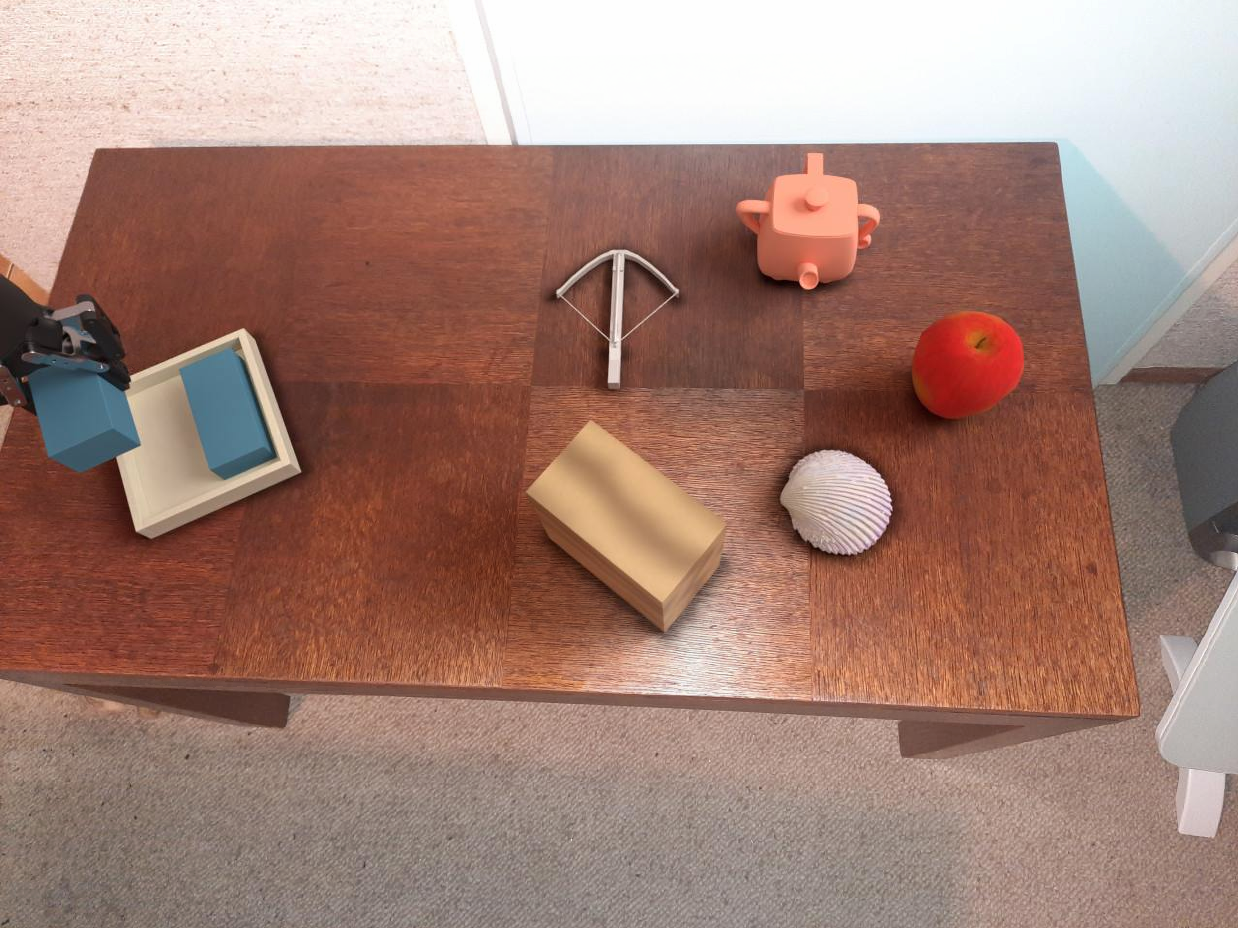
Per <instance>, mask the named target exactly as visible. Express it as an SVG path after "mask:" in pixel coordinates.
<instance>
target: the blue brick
mask: <svg viewBox="0 0 1238 928" xmlns="http://www.w3.org/2000/svg"><path fill="white" fill-rule="evenodd" d="M179 371H180V375H181V378H182V381H183V384H184V388H185V391H186V394H187V397H188V401H189V404H190V407H191V410H192V414H193V417H194V420H195V423H196V427H197V430H198V433H199V436H200V440H201V443H202V446H203V449H204V453H205V456H206V459H207V463H208V466H209V469H210V470H211V471H212V472H214V473H215V474H217V475H218V476H220V477H221V478H223V479H224V480H227V479H229V478H231V477H233V476H236V475H238V474H240V473H242V472H245V471H247V470H249V469H252V468H254V467H256V466H258V465H261V464H263V463H265V462H267V461H270V460H272V459H274V458H277V455H276V452H275V449H274V446H273V443H272V440H271V437H270V435H269V432H268V429H267V426H266V423H265V420H264V417H263V414H262V411H261V408H260V405H259V402H258V399H257V396H256V393H255V390H254V388H253V385H252V382H251V379H250V376H249V373H248V370H247V367H246V364H245V361H244V360H243V359H242V358H241V357H240V356H239V355H238V354H237V353H236V352H235V351H234V350H233V349H232V348H228V349H225V350H223V351H221V352H218V353H216V354H214V355H211V356H209V357H207V358H204V359H202V360H200V361H197V362H195V363H193V364H190V365H188V366H186V367H183V368H181V369H179Z"/></svg>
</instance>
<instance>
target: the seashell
mask: <svg viewBox="0 0 1238 928" xmlns="http://www.w3.org/2000/svg"><path fill="white" fill-rule="evenodd" d="M788 478H789V479H788V482H786V484H785V486H784V487H783V489H782V491H781V493H780V496H779V500H780V504H781V505H782V507H784V508H785V509H786V510H787V512H788V514H789V515H790V518H791V523H792V528H793V530H794V531H796V530H797V531H798V533H799V535H800V537H801V539H802V540H803V541H804V542H805V543H807V542H809V543H811V545H812V547H814V548H815V549H816V548H819V549H820V550H821V552H826V553H828V554H831V553H832V554H834V555H836V556H837V555H838V554H840V555H842V556H844V555H847V556H851V555H854V556H857V555H858V554H863V552H864V550H869V549H870V547H871V546H873V545H875V544H876V543H877V540H879V539H881V537H882V535H883V534H884V532H886V530H887V525H889V524H890V516H892V513H891V512H893V506H892V505H891V503H892V501H893V500H892V499H891V497H890V496H891V493H890V491H889V487H888V485H887V484H886V482H885V480H884V479H883V478H882V475H881V474H880V473H879V472H877V470H876V469H875V468H873V467H872V465H871V464H869V463H866V461H864V459H861V458H859V457H858V456H855V455H853V454H852V453H851V452H846V451H844V450H843V451H841V450H840V449H837V450H834V449H830V450H829V449H828V450H827V449H824V450H823V449H822V450H820V451H814V452H813V453H809V454H808V455H806V456H803V458H802V459H799V460H798V462H797V463H796V464H794V466H793V467H792V470H791V472H790V473H789V476H788Z"/></svg>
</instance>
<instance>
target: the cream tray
mask: <svg viewBox="0 0 1238 928" xmlns="http://www.w3.org/2000/svg"><path fill="white" fill-rule="evenodd" d="M228 348H232V349H233V350H234V351H235V352H236V353H237V354H238V355H239V356H240V357H241V358H242V359H243V360H244V361H245V364H246V367H247V370H248V373H249V376H250V379H251V382H252V385H253V388H254V390H255V393H256V396H257V399H258V402H259V405H260V408H261V411H262V414H263V417H264V420H265V423H266V426H267V429H268V432H269V435H270V437H271V440H272V443H273V446H274V449H275V452H276V455H277V458H274V459H272V460H270V461H267V462H265V463H263V464H261V465H258V466H256V467H254V468H252V469H249V470H247V471H245V472H242V473H240V474H238V475H236V476H233V477H231V478H229V479H227V480H224V479H223V478H221V477H220V476H218V475H217V474H215V473H214V472H212V471H211V470H210V469H209V466H208V463H207V459H206V456H205V453H204V449H203V446H202V443H201V440H200V436H199V433H198V430H197V427H196V423H195V420H194V417H193V414H192V410H191V407H190V404H189V401H188V397H187V394H186V391H185V388H184V384H183V381H182V378H181V375H180V371H179V369H181V368H183V367H186V366H188V365H190V364H193V363H195V362H197V361H200V360H202V359H204V358H207V357H209V356H211V355H214V354H216V353H218V352H221V351H223V350H225V349H228ZM130 378H131V381H132V382H130V383H129V384H130V389H128V390H126V391H125V394H126V397H127V400H128V403H129V407H130V410H131V413H132V417H133V420H134V423H135V426H136V430H137V433H138V436H139V439H140V443H141V446H139V447H137V448H135V449H133V450H130V451H128V452H126V453H124V454H122V455H119V456H117V457H115V459H116V462H117V465H118V469H119V473H120V477H121V481H122V485H123V488H124V492H125V496H126V499H127V504H128V507H129V511H130V515H131V518H132V522H133V526H134V530H135V532H136V533H138V534H140V535H142V536H144V537H146V538H148V539H150V540H152V539H154V538H157V537H159V536H161V535H163V534H166V533H169V532H170V531H172V530H175V529H177V528H179V527H181V526H184V525H186V524H189V523H190V522H193V521H195V520H198V519H199V518H202V517H205V516H206V515H209V514H211V513H213V512H215V511H218V510H219V509H222V508H224V507H227V506H230V505H231V504H233V503H236V502H238V501H240V500H242V499H245V498H247V497H249V496H252V495H253V494H256V493H258V492H260V491H263V490H265V489H267V488H270V487H272V486H274V485H276V484H279V483H281V482H283V481H286V480H288V479H290V478H292V477H294V476H296V475H299V474H301V473H302V470H301V467H300V464H299V461H298V459H297V455H296V453H295V450H294V447H293V445H292V442H291V438H290V436H289V433H288V431H287V427H286V425H285V422H284V419H283V416H282V413H281V410H280V408H279V404H278V401H277V398H276V396H275V393H274V389H273V387H272V384H271V382H270V379H269V376H268V373H267V371H266V367H265V364H264V361H263V358H262V356H261V353H260V350H259V347H258V345H257V342H256V339H255V338H254V337H253V336H252V335H251V334H250V333H249V332H248V330H246V329H245V328H243V327H242V328H240V329H238V330H236V331H233V332H230V333H228V334H226V335H224V336H221V337H218V338H217V339H214V340H211V341H210V342H207V343H204V344H203V345H202V344H201V345H200V346H197V347H195V348H193V349H191V350H188V351H186V352H184V353H181V354H179V355H176V356H173V358H169V359H167V360H165V361H163V362H160V363H158V364H155V365H153V366H150V367H148V368H146V369H144V370H143V369H142V371H139V372H135V373H134V374H132V375H130Z"/></svg>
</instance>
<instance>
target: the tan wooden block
mask: <svg viewBox="0 0 1238 928" xmlns="http://www.w3.org/2000/svg"><path fill="white" fill-rule="evenodd" d="M525 494H526V497H527V498H528V500H529V502H530V505H531V506H532V508H533V509H534V511H535V513H536V515H537V517H538V519H539V521H540V522H541V525H542V527H543V528H544V531H545V533H546V534H547V536H548V538H549V539H550V541H552V542H553V543H554V544H556V545H557V546H558V547H559V548H561V549H562V550H563V551H564V552H566V553H567V554H568V555H569V556H570V557H571V558H573V559H574V560H575V561H576V562H578V564H580V565H581V566H582V567H583V568H585V569H586V570H587V571H588V572H590V573H592V575H593V576H595V578H597V579H598V580H599V581H601V582H602V583H603V584H604V585H606V586H607V587H608V588H609V589H611V591H613V592H614V593H615V594H616V595H617V596H618V597H620V598H621V599H623V600H624V601H625V603H627V604H628V605H630V606H631V607H632V608H633V609H635V610H636V611H637V612H638V613H639V614H640V615H642V616H643V617H644V618H646V619H647V620H648V621H649V622H650V623H652V624H653V625H654V626H655V627H657V629H659V630H660V631H662V632H663V633H666V632H667V631H668V630H669V629H670V628H671V626H672V625H673V624H674V623H675V621H676V620H677V619H678V618H679V616H680V615H681V614H682V612H684V610H685V609H686V608H687V607H688V606H689V604H690V603H691V602H692V600H693V599H694V598H695V597H696V595H697V594H698V593H699V592H700V591H701V589H702V588H703V587H704V586H705V584H707V582H708V581H709V579H710V578H711V577H712V576H713V575H714V573H715V572H716V571H717V570H718V568H719V567H720V564H721V559H722V553H723V550H724V549H723V548H724V543H725V538H726V533H727V528H728V523H727V522H726V521H725V520H724V519H723V518H722V517H720V516H718V515H717V514H716V513H715V512H713V511H712V510H711V509H709V508H708V507H707V506H705V505H704V504H703V503H701V502H700V501H699V500H698V499H696V498H695V497H694V496H693V495H691V494H690V493H688V492H687V491H686V490H684V489H683V488H682V487H681V486H679V485H678V484H676V483H675V482H673V481H672V480H671V479H670V478H668V477H667V476H666V475H664V473H662V472H660V471H659V470H658V469H657V468H655V467H654V466H653V465H651V464H650V463H648V462H647V461H646V460H645V459H643V458H642V457H641V456H639V454H637V453H636V452H634V451H633V450H632V449H631V448H629V447H628V446H627V445H625V444H624V443H623V442H621V441H620V440H618V439H617V437H614V436H613V435H612V434H611V433H609V432H608V431H606V430H605V429H604V428H602V427H601V425H599V424H598V423H596V422H595V421H594V420H592V419H590V420H588V421H587V423H585V425H584V426H583V427H582V429H580V430H579V431H578V433H577V434H576V435H575V436H574V437H573V438H572V440H571V441H570V442H569V443H568V444H567V445H566V446H565V447H564V448H563V449H562V451H560V453H559V454H558V455H557V456H556V457H555V458H554V459H553V460H552V462H551V463H550V464H549V465H548V466H547V467H546V468H545V470H543V472H541V474H540V475H539V476H538V477H537V478H536V479H535V480H534V482H532V484H531V485H529V487H528V488H527V489H526V491H525Z"/></svg>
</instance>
